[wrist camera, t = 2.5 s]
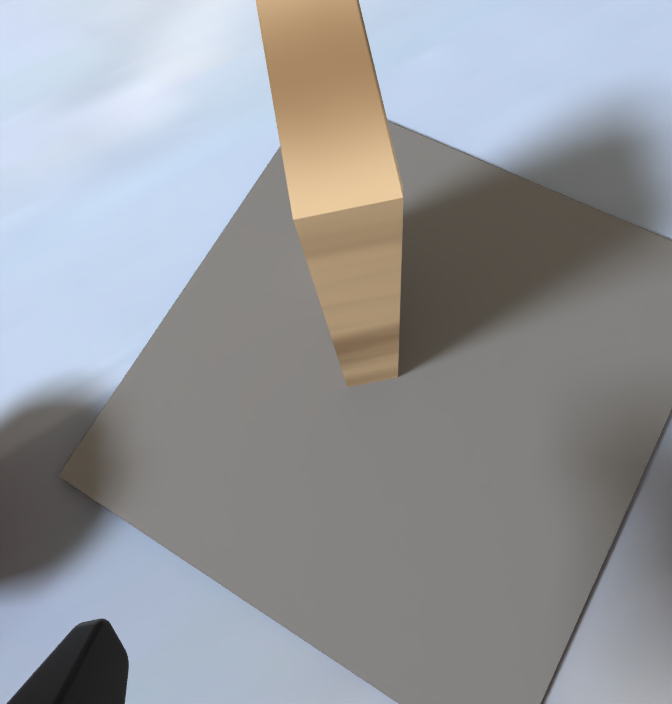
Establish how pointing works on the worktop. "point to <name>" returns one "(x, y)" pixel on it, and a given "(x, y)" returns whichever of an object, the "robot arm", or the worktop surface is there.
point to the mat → (405, 429)
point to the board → (339, 175)
